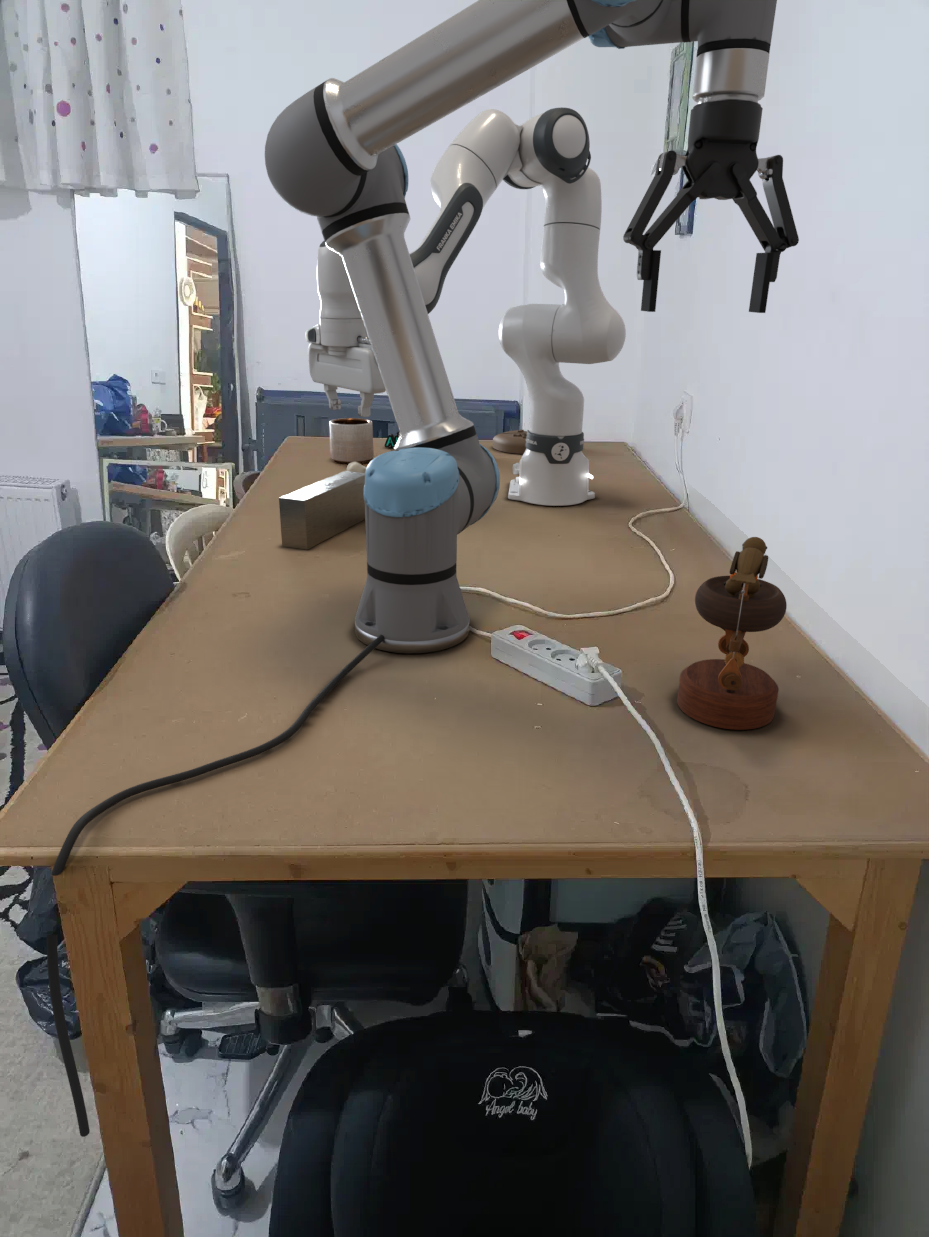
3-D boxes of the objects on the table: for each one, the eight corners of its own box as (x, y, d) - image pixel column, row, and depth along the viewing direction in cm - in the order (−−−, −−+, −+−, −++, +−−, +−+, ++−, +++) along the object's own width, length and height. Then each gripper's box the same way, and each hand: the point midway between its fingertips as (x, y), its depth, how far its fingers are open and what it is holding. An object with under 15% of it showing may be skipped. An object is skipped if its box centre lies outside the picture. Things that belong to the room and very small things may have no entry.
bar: (307, 549, 145) (304, 500, 142) (282, 546, 147) (278, 497, 144) (368, 517, 165) (367, 473, 162) (346, 514, 167) (344, 471, 164)
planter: (327, 456, 217) (325, 418, 214) (369, 454, 220) (368, 417, 217) (334, 465, 208) (332, 425, 204) (377, 463, 211) (376, 424, 207)
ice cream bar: (498, 463, 213) (499, 446, 211) (490, 442, 239) (491, 427, 237) (581, 463, 214) (582, 447, 212) (564, 443, 240) (565, 428, 238)
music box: (793, 740, 87) (809, 557, 80) (685, 741, 89) (691, 560, 81) (762, 676, 102) (773, 514, 94) (668, 677, 103) (672, 518, 95)
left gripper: (814, 114, 97) (785, 311, 105) (605, 104, 93) (591, 309, 101) (852, 103, 90) (817, 314, 98) (628, 91, 86) (611, 312, 94)
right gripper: (394, 337, 146) (397, 418, 151) (329, 329, 160) (333, 403, 165) (364, 340, 142) (368, 423, 147) (300, 331, 156) (305, 407, 161)
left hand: (702, 312), depth 100 cm, fingers open, 13 cm apart
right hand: (349, 412), depth 156 cm, fingers open, 8 cm apart
